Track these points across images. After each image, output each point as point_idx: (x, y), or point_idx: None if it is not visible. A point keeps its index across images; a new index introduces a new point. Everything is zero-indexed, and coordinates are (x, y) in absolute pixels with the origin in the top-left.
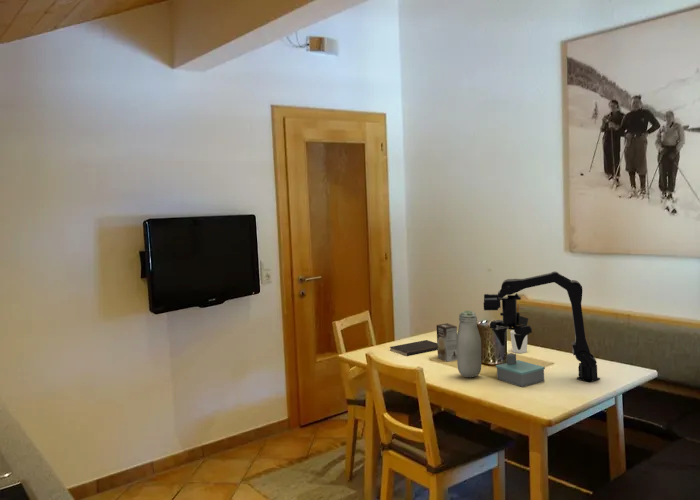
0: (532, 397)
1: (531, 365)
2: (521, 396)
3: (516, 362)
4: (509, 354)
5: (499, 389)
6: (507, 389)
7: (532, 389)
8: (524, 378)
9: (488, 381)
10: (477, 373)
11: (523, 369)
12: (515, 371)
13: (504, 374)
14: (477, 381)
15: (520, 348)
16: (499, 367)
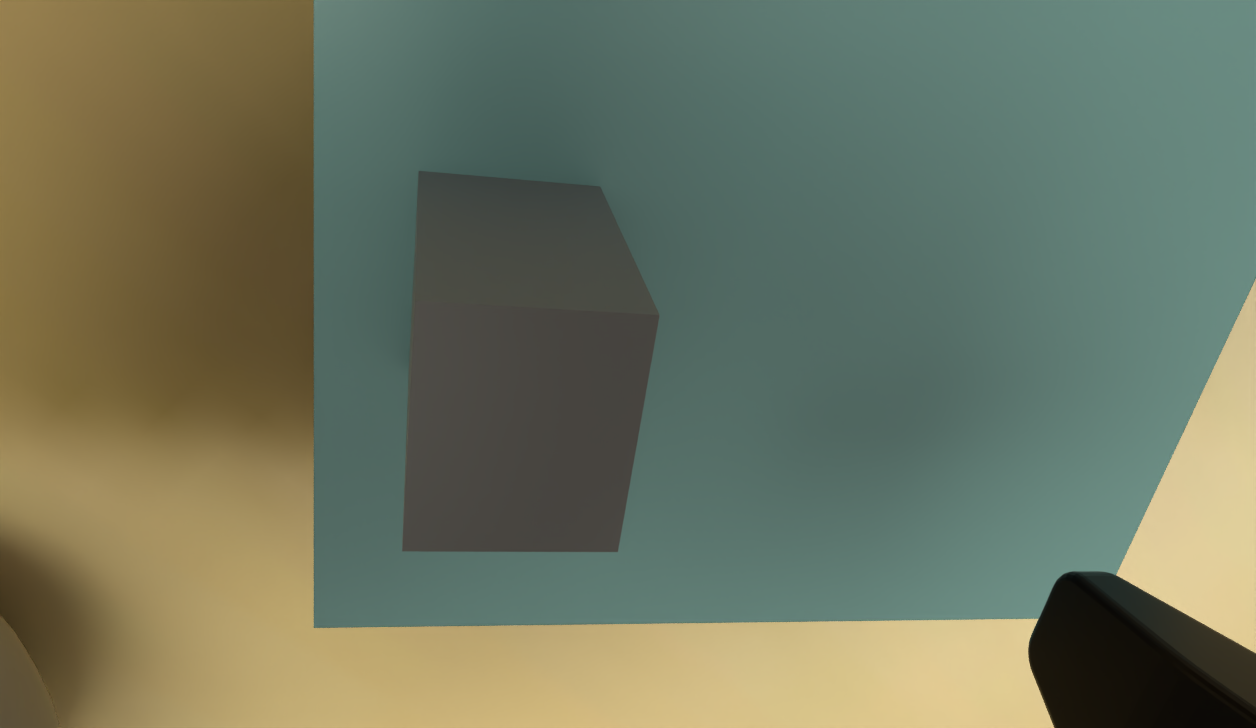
0: (1234, 623)
1: (1044, 31)
2: None
3: (505, 63)
4: (496, 490)
5: (747, 701)
6: (832, 637)
7: None
8: None
9: None
10: (46, 692)
11: (1025, 442)
12: (937, 614)
13: None
14: (228, 703)
15: (1139, 602)
16: (448, 606)
